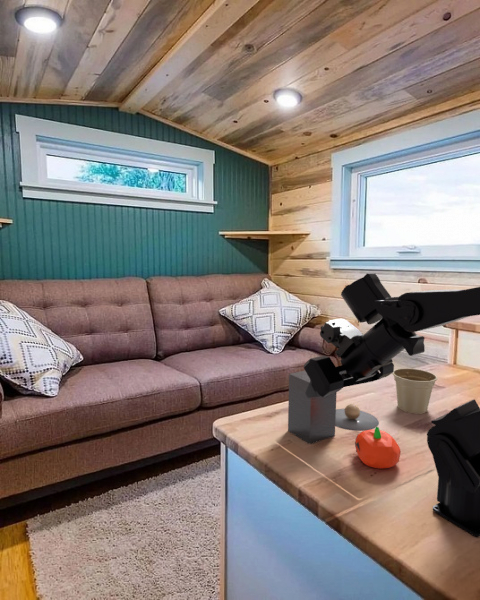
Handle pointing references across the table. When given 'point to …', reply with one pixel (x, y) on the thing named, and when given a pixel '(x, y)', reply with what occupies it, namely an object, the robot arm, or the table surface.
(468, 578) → the table surface
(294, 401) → the dark grey square block
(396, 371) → the flower pot
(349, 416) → the cork ball
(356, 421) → the slate coaster
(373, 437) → the pumpkin
